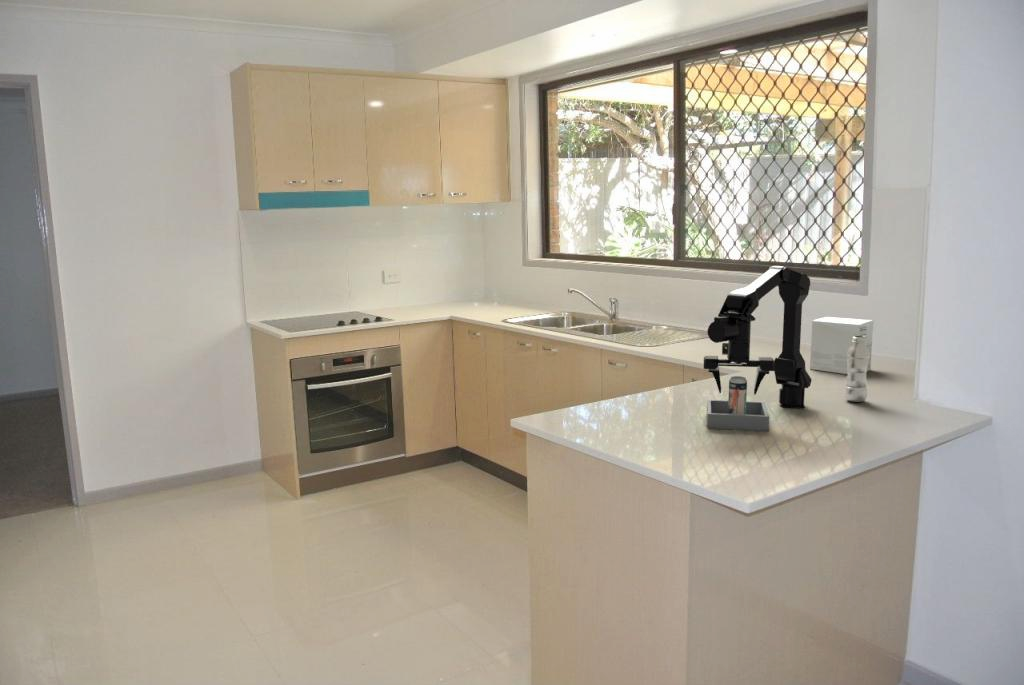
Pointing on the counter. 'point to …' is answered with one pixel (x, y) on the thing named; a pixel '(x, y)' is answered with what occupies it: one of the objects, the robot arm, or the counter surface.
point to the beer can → (737, 395)
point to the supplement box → (837, 342)
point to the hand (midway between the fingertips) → (737, 393)
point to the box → (737, 416)
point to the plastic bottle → (857, 370)
